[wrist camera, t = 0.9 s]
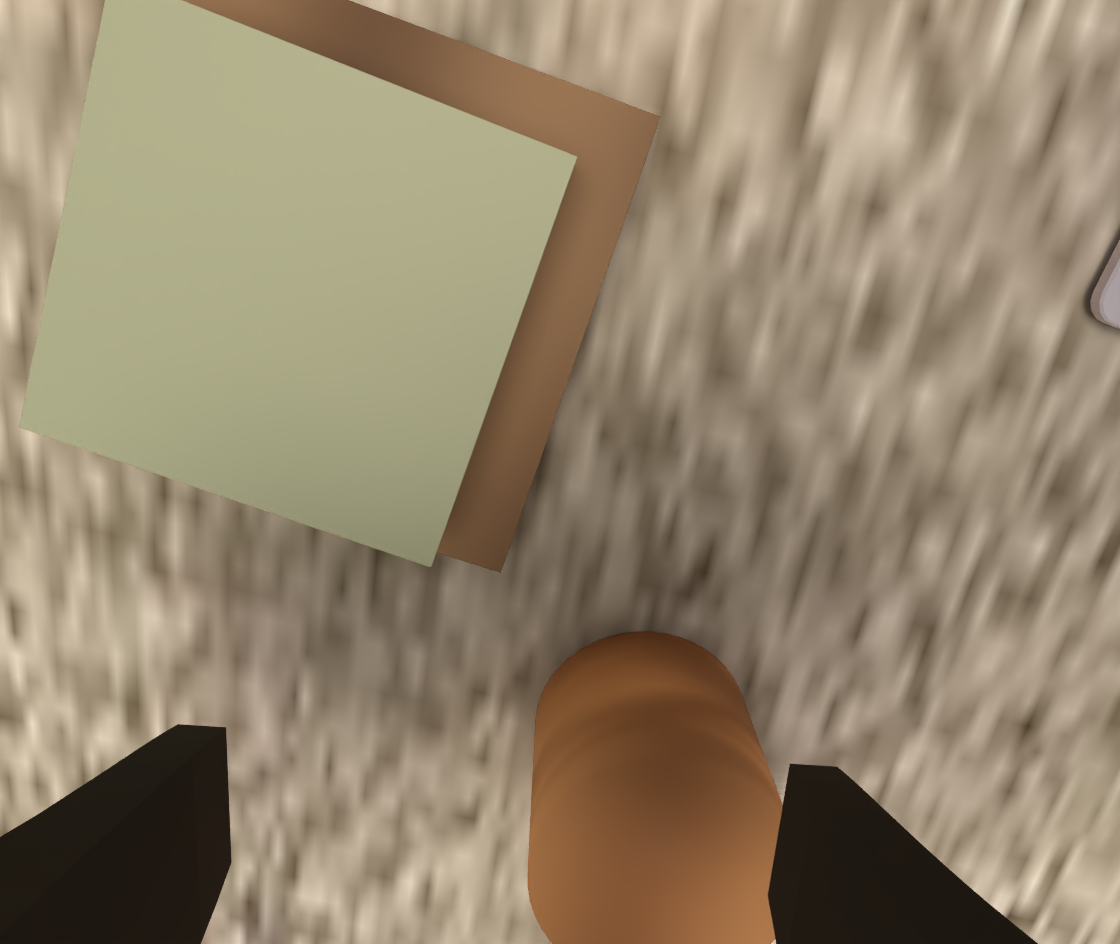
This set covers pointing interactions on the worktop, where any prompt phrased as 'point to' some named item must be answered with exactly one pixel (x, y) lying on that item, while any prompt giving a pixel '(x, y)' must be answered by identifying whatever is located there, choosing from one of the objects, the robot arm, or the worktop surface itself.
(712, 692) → the orange cylinder
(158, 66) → the sage top block
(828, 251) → the worktop surface
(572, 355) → the walnut base block
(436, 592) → the worktop surface
